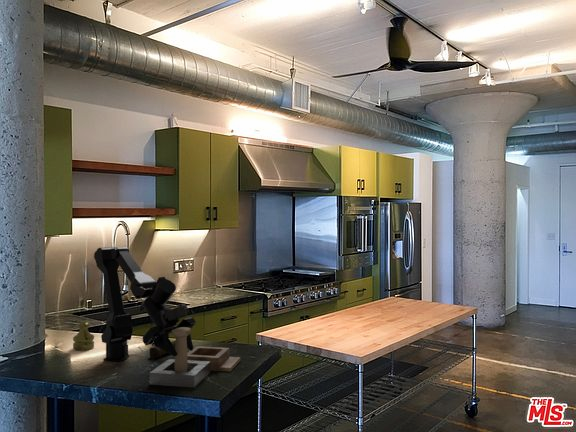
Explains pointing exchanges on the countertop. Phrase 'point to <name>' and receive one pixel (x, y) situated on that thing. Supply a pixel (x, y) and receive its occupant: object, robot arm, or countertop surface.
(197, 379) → the socket block
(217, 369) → the tan piece
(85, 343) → the olive green tiered piece
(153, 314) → the robot arm
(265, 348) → the countertop surface
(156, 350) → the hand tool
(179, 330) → the handle
